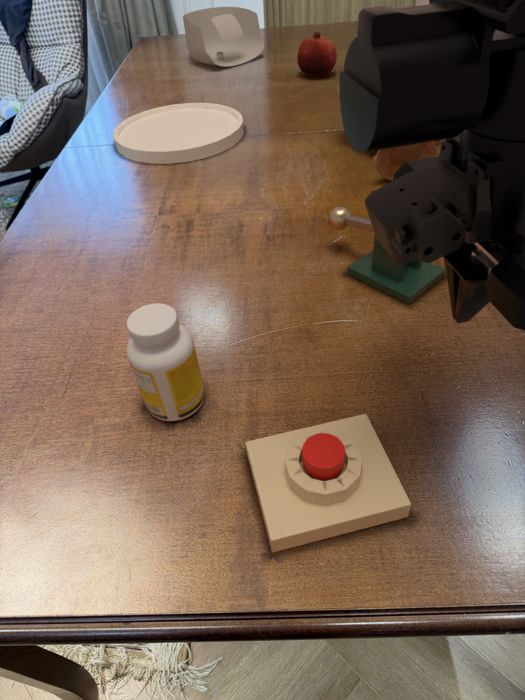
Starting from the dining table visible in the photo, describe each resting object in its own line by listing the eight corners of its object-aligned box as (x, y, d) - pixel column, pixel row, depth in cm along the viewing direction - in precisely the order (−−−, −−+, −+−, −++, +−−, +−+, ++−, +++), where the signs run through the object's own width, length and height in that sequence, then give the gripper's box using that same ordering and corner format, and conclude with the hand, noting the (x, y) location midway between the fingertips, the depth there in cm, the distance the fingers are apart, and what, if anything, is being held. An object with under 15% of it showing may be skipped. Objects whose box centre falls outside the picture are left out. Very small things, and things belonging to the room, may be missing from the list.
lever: (324, 230, 71) (322, 209, 69) (339, 222, 73) (338, 200, 71) (402, 252, 63) (402, 228, 61) (417, 241, 64) (418, 218, 62)
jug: (465, 56, 98) (505, 134, 79) (395, 134, 110) (415, 217, 91) (389, -11, 90) (412, 57, 71) (323, 82, 102) (328, 160, 83)
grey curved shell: (228, 47, 163) (224, 4, 155) (266, 57, 151) (264, 10, 143) (176, 62, 154) (169, 17, 146) (213, 73, 143) (206, 24, 135)
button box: (247, 455, 49) (243, 429, 46) (364, 427, 50) (367, 401, 47) (272, 553, 42) (269, 530, 39) (408, 517, 43) (414, 492, 40)
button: (297, 450, 44) (296, 438, 43) (336, 440, 45) (336, 428, 44) (309, 484, 42) (309, 473, 41) (350, 474, 42) (351, 462, 41)
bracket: (347, 274, 69) (350, 219, 63) (383, 249, 73) (389, 196, 67) (408, 304, 63) (418, 248, 58) (444, 276, 67) (456, 220, 61)
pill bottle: (214, 383, 56) (197, 301, 48) (193, 429, 51) (170, 346, 43) (160, 374, 57) (135, 293, 49) (135, 418, 53) (104, 337, 45)
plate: (214, 168, 97) (212, 156, 95) (90, 158, 104) (87, 146, 103) (261, 116, 115) (260, 105, 114) (153, 111, 123) (151, 100, 121)
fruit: (291, 74, 137) (289, 32, 130) (322, 67, 139) (323, 25, 133) (309, 84, 130) (309, 39, 123) (343, 76, 132) (345, 32, 125)
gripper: (335, 96, 36) (330, 275, 47) (470, 220, 23) (420, 430, 34) (477, 75, 38) (440, 253, 48) (684, 179, 24) (569, 394, 35)
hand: (460, 319), depth 41 cm, fingers closed
